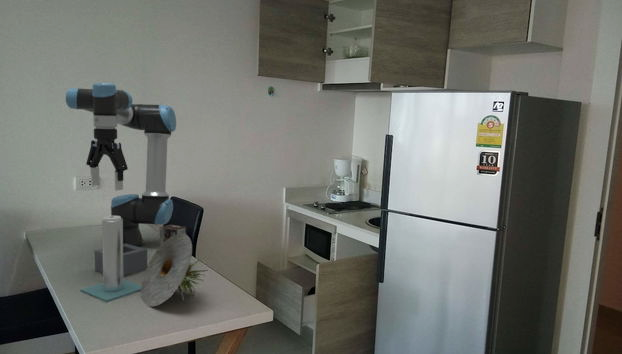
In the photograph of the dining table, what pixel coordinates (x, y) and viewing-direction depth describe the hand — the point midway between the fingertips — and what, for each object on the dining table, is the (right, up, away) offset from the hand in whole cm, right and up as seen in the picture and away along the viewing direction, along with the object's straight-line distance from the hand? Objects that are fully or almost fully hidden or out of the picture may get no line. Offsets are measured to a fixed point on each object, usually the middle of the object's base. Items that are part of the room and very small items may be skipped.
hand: (107, 187), depth 166 cm
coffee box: (+17, -32, +21) cm, 42 cm away
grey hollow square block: (0, -32, +14) cm, 35 cm away
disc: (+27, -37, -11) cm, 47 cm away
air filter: (+5, -35, -7) cm, 35 cm away
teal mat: (+5, -35, -7) cm, 36 cm away
